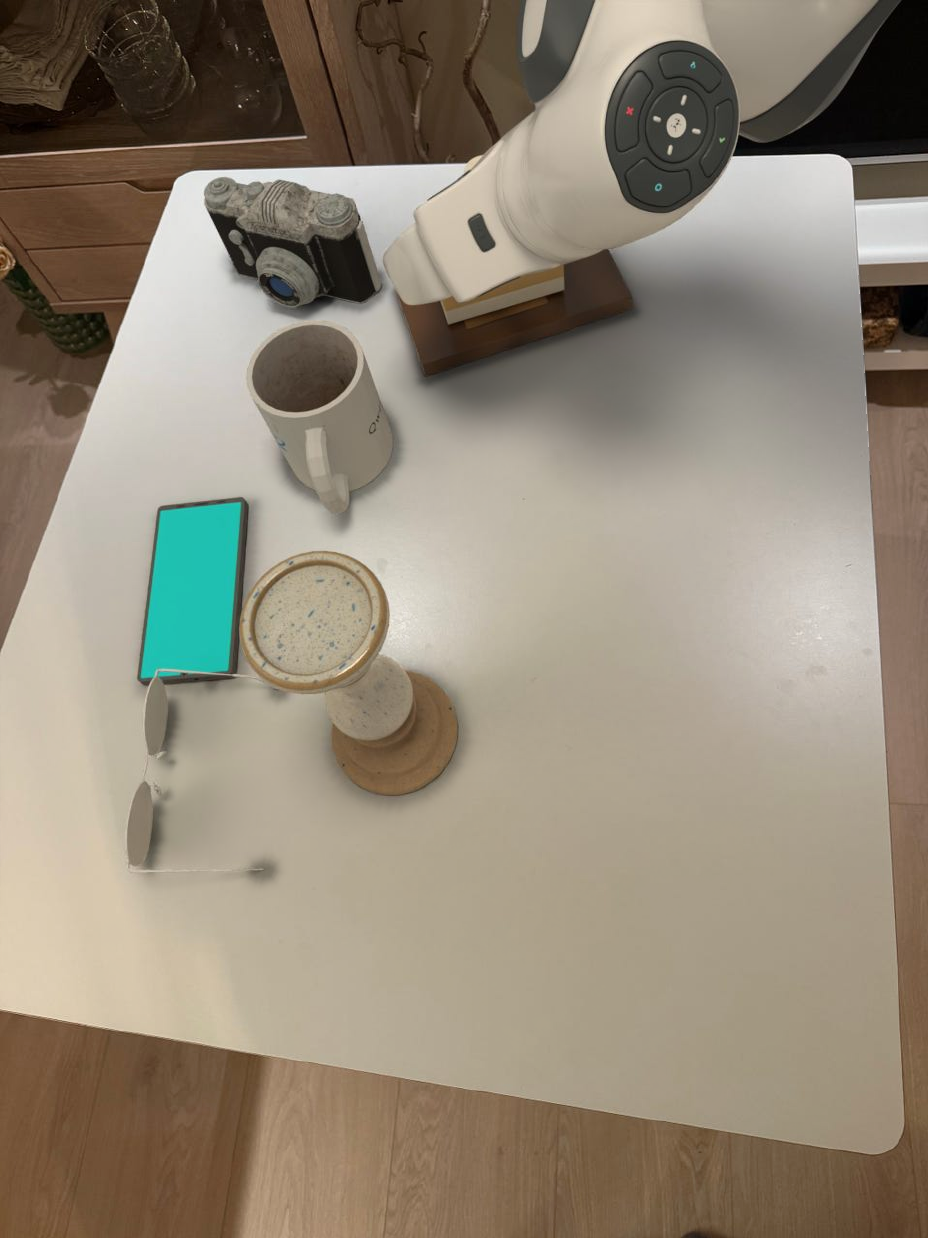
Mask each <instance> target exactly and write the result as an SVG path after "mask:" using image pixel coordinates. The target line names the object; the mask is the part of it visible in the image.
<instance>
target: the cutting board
mask: <svg viewBox="0 0 928 1238" xmlns="http://www.w3.org/2000/svg"><path fill="white" fill-rule="evenodd" d="M394 290H395V293H396V296H397V299H398V302H399V305H400V307H401V311H402V313H403V316H404V319H405V322H406V326H407V328H408V331H409V334H410V337H411V340H412V342H413V345H414V349H415V351H416V354H417V357H418V360H419V363H420V366H421V368H422V372H423V374H424V376H425V377H428V376H431V375H434V374H437V373H440V372H443V371H446V370H449V369H452V368H455V367H458V366H461V365H464V364H468V363H471V362H473V361H477V360H480V359H482V358H483V359H484V358H486V357H489V356H492V355H495V354H499V353H501V352H504V351H508V350H511V349H513V348H517V347H520V346H522V345H523V346H524V345H526V344H529V343H531V342H535V341H538V340H541V339H545V338H547V337H550V336H553V335H556V334H560V333H562V332H565V331H569V330H571V329H575V328H577V327H581V326H584V325H587V324H590V323H593V322H596V321H599V320H602V319H605V318H609V317H612V316H615V315H617V314H621V313H623V312H627V311H630V310H632V303H633V302H632V301H633V295H632V293H631V291H630V290H629V288H628V285H627V284H626V282H625V280H624V277H623V275H622V274H621V271H620V269H619V267H618V266H617V263H616V262H615V259H614V257H613V256H612V254H611V251H610V249H604V250H602V251H600V252H599V253H597V254H594V255H592V256H589V257H586V258H583V259H579V260H576V261H573V262H570V263H567V264H564V290H562V291H559V292H556V293H552V294H549V295H546V296H542V297H539V298H536V299H532V300H529V301H526V302H522V303H519V304H516V305H512V306H509V307H506V308H502V309H499V310H496V311H492V312H489V313H486V314H482V315H479V316H475V317H472V318H469V319H465V320H462V321H459V322H455V323H452V324H448V322H447V319H446V316H445V313H444V310H443V308H442V305H441V302H440V301H437V302H433V303H427V304H421V305H408V304H406V303H404V302H403V300H402V299H401V298H400V296H399V294H398V293H397V291H396V289H395V288H394Z"/></svg>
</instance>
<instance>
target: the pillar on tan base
mask: <svg viewBox="0 0 928 1238" xmlns="http://www.w3.org/2000/svg"><path fill="white" fill-rule="evenodd" d="M483 155H484V154H481V155H477V156H475V157H473V158H471V159H470V160H469V161H468V162H467V163H466V164H465V167H464V171H463V172H464V173H466V172H467V171H468V170H471V169H472V168H473V166H474V165H475V164H476V163H477V162H478V161H479V160H480V158H481V157H482V156H483ZM464 173H463V174H464ZM562 290H564V265H561V266H558V267H556V268H553V269H550V270H547V271H544V272H538V273H533V274H527V275H523V276H521V278H519V279H516V280H513V281H511V282H508V283H506V284H504V285H502V286H500V287H498V288H496V289H494V290H492V291H490V292H488V293H486V294H484V295H482V296H480V297H477V298H474V299H472V300H470V301H468V302H465V303H458V302H457V301H456V300H455V298H454V297H453V296H452V297H449V298H446V299H444V300H441V301H440V302H441V305H442V308H443V310H444V313H445V316H446V319H447V322H448V324H452V323H455V322H459V321H462V320H465V319H469V318H472V317H475V316H479V315H482V314H486V313H489V312H492V311H496V310H499V309H502V308H506V307H509V306H512V305H516V304H519V303H522V302H526V301H529V300H532V299H536V298H539V297H542V296H546V295H549V294H552V293H556V292H559V291H562Z"/></svg>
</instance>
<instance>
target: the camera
mask: <svg viewBox="0 0 928 1238" xmlns="http://www.w3.org/2000/svg"><path fill="white" fill-rule="evenodd" d="M203 196H204V198H203V200H204V203H203V204H204V207H205V208H206V211H207V213H208V215H209V217H210V219H211V221H212V223H213V225H214V227H215V230H216V231H217V233H218V235H219V237H220V240H221V242H222V243H223V246H224V248H225V250H226V252H227V254H228V256H229V258H230V260H231V262H232V264H233V266H234V268H235V271H236V272H237V274H238V276H242V277H245V278H250V279H254V280H257V282H258V285H259V287H260V289H261V291H262V292H263V293H264V295H266V296H267V297H268V298H269V299H270V300H271V301H273V302H274V303H276V304H278V305H280V306H282V307H285V308H290V309H292V308H293V309H294V308H298V307H299V306H303V305H307V304H310V303H311V302H313V301H314V299H316V298H319V297H322V296H326V297H330V298H334V299H337V300H341V301H347V302H351V303H356V304H361V305H362V304H363V303H366V302H368V301H369V300H371V298H373V297H374V296H375V294H377V292H379V291H380V290H381V287H382V281H381V278H380V274H379V270H378V268H377V265H376V261H375V257H374V255H373V251H372V247H371V244H370V240H369V238H368V234H367V231H366V228H365V224H364V222H363V220H362V219H361V215H360V213H359V211H358V208H357V204H356V201H355V200H354V198H352V197H346V196H345V195H344V194H340V193H326V192H323V191H317V190H312V189H310V188H308V187H307V185H303V184H302V185H301V184H300V183H298V182H295V181H289V180H284V179H276V180H274V181H266V182H260V181H258V180H257V181H252V182H250V183H248V184H245V183H240V182H236V180H235V179H233V178H231V177H228V176H219V177H216V178H213V179H212V180H211V181H210V182H209V181H208V183H207V184H206V186H205V187H204V190H203Z"/></svg>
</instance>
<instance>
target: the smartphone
mask: <svg viewBox="0 0 928 1238" xmlns="http://www.w3.org/2000/svg"><path fill="white" fill-rule="evenodd" d="M248 514H249V503H248V502H247V500H246V499H245V498H244V497H243V496H238V497H229V498H228V497H227V498H219V499H211V500H202V501H201V500H200V501H193V502H184V503H175V504H174V503H173V504H165V505H160V506H159V507H158V508H157V511H156V520H155V527H154V534H153V535H154V536H153V544H152V552H151V559H150V560H151V561H150V568H149V577H148V585H147V594H146V603H145V608H144V619H143V627H142V635H141V642H140V643H141V644H140V651H139V658H138V659H139V660H138V667H137V676H136V679H137V681H138V682H139V683H140V684H142V685H143V686H149V684H150V682H151V680H152V679H153V678H154V677H155V672H156V670H158V669H173V670H185V671H196V672H207V673H219V674H230V675H214V674H196V673H178V672H159V673H158V676H157V677H159V678H160V679H161V680H162V682H163V684H164V685H166V684H167V685H168V684H176V683H177V684H178V683H179V684H180V683H192V682H202V681H203V682H204V681H215V680H226V679H233V678H235V676H232V675H233V674H237V664H238V650H239V639H240V633H239V625H240V617H241V612H242V610H241V609H242V597H243V596H242V595H243V584H244V583H243V581H244V568H245V553H246V542H247V541H246V540H247V530H248V529H247V528H248V527H247V526H248Z"/></svg>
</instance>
